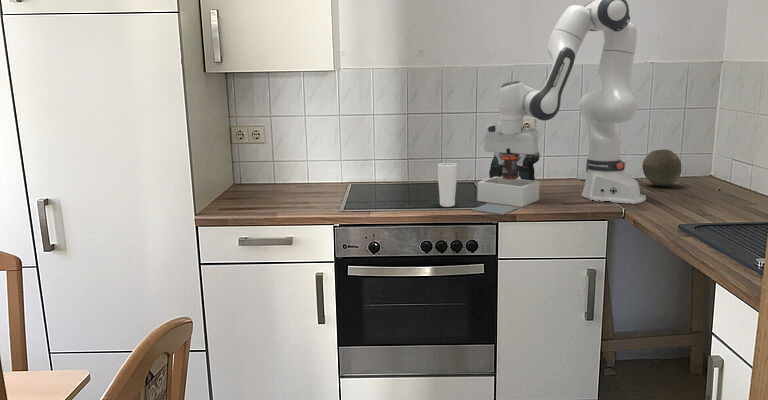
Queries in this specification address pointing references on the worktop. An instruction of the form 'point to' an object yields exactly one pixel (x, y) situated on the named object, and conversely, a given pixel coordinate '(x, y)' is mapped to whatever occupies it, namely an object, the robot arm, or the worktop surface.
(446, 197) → the drinking glass
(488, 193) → the box
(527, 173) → the ceramic cat
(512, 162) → the supplement bottle
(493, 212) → the mat
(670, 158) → the cantaloupe
